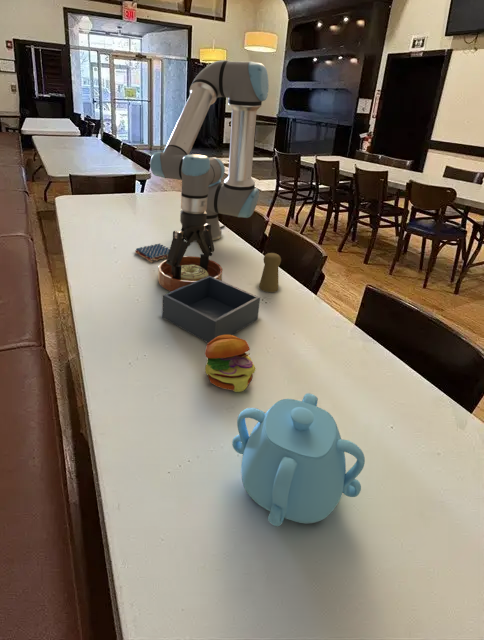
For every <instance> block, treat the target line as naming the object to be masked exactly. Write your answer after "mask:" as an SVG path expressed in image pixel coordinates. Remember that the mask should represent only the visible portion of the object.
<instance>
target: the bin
mask: <svg viewBox="0 0 484 640" xmlns="http://www.w3.org/2000/svg"><path fill="white" fill-rule="evenodd" d="M161 303H162V305H161V306H162V311H161V318H162V319H164V320H166V321H167V322H170V323H172V325H175V326H176V327H179V328H180V329H181V330H184V331H186V332H188V333H189V334H191V335H193V336H195V337H197V338H198V339H200V340H201V341H204V342H206V343H207V344H208V343H209V342H210V341H211V340H213V339H214V338H216V337H217V336H220V335H233V336H234V335H235V334H236V333H238V332H240V331H241V330H243V329H244V328H246V327H247V326H249V325H251V324H252V323H254V322H256V321H257V320H258V319H259V312H260V310H259V309H260V303H261V297H260V296H258V295H255V294H253V293H251V292H248V291H246V290H244V289H241V288H239V287H236V286H234V285H232V284H230V283H227V282H225V281H223V280H222V281H220V280H218V279H216V278H213V277H211V276H208V277H205V278H203V279H200V280H198V281H196V282H193V283H191V284H188V285H186V286H183V287H181V288H179V289H176V290H174V291H168V292H167V293H164V294H162V302H161Z"/></svg>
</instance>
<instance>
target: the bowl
mask: <svg viewBox="0 0 484 640" xmlns="http://www.w3.org/2000/svg"><path fill="white" fill-rule="evenodd" d="M166 260H167V259H164V260H163V261H162V262H160V263H159V265H158V268H157V269H158V270H157V281H158V284H159V285H160V286H161V287H162V288H163V289H165V290H167V291H168V292H171V291H174V290H176V289H179V288H181V287H183V286H186V285H188V284H191V283H193V282H196V281H185V280H179V279H175V278H173V276H172V274H171V270H172V266H171V265H168V264H166ZM176 262H177V261H176ZM191 264H193V265H197V266H200V256H194V255H193V256H192V255H184V256H183V258H182V260H181V262H180V266H182V265H191ZM207 273H208V276H211V277H213V278H216V279H218V280H220V281H223V268H222V266H221V265H220V264H219V263H217V261H214V260H212V259H210V258H209V263H208V270H207Z"/></svg>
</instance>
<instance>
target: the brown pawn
mask: <svg viewBox="0 0 484 640" xmlns="http://www.w3.org/2000/svg"><path fill="white" fill-rule="evenodd" d="M281 262H282V258H281V255H279V254H277V253H275V252H268V253H266V254H265V255H264V256H263V263H264V266H263V270H262V272H261V276H260V280H259V285H258V289H260V291H263V292H266V293H275V292H278V291H279V267H280V265H281Z"/></svg>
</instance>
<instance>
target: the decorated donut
mask: <svg viewBox="0 0 484 640" xmlns="http://www.w3.org/2000/svg"><path fill="white" fill-rule="evenodd" d="M205 277H208V273H207V271H206V270H205V269H204V268H202V267H200V266H197V265H193V264H191V265H182V266H181V280H185V281H198V280H200V279H203V278H205Z"/></svg>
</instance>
